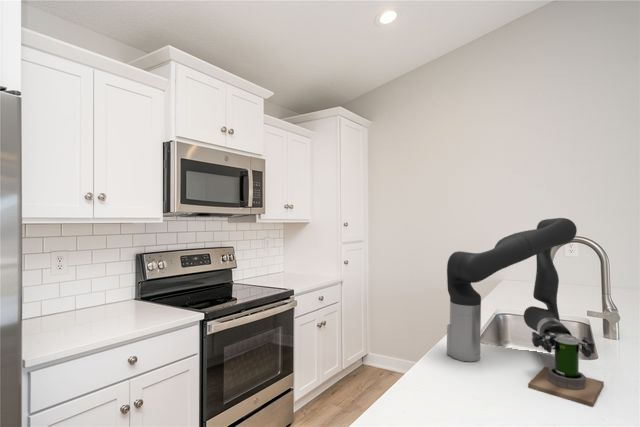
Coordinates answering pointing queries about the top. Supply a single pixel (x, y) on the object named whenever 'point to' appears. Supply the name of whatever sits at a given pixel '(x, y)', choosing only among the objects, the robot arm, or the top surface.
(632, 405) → the top surface
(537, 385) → the can holder
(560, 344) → the beer can
